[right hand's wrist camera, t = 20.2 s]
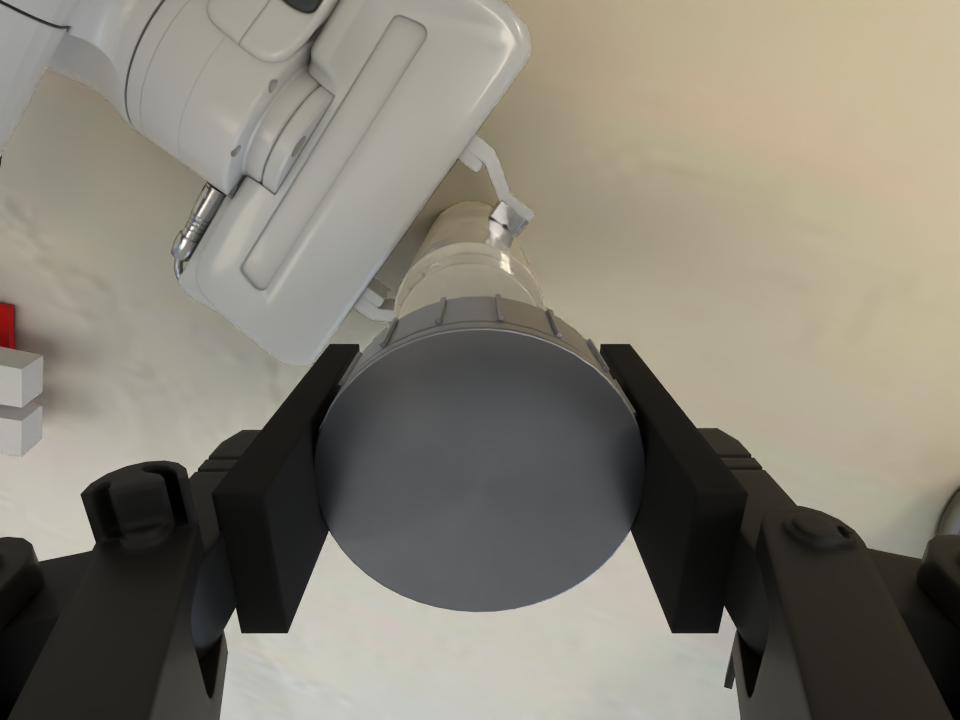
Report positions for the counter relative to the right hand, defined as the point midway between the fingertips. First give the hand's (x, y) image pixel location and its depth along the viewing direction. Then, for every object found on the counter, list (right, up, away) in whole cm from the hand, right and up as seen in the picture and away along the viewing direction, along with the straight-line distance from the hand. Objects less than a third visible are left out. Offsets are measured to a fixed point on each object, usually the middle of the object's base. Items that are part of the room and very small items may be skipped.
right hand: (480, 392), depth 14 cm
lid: (0, -1, -4) cm, 4 cm away
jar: (-1, +8, +20) cm, 22 cm away
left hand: (0, +5, +14) cm, 15 cm away
